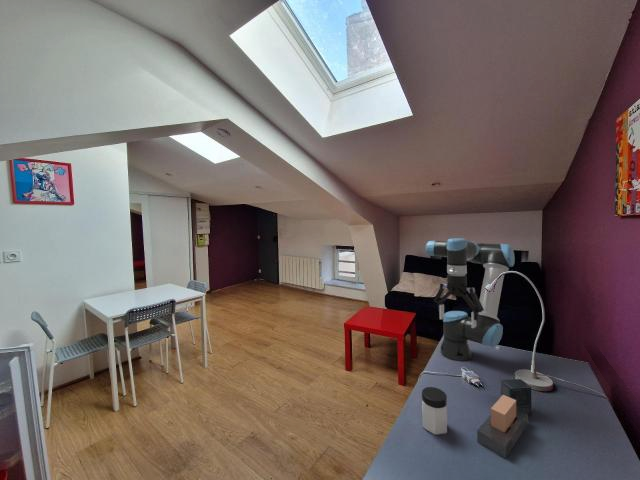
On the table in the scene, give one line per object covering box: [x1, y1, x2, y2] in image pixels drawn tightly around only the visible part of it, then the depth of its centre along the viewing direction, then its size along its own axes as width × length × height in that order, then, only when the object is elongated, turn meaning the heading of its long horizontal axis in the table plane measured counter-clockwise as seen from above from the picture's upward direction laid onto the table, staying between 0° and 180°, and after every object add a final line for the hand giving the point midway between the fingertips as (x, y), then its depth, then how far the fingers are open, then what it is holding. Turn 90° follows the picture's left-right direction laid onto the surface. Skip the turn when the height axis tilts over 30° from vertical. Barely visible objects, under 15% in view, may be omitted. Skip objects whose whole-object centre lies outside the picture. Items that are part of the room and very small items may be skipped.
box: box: [500, 378, 533, 415], centre depth 101 cm, size 8×6×11 cm
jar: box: [421, 386, 448, 436], centre depth 95 cm, size 9×8×12 cm
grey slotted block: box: [476, 408, 529, 459], centre depth 91 cm, size 22×8×4 cm, turn 128°
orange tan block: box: [490, 395, 516, 434], centre depth 91 cm, size 11×4×10 cm, turn 128°
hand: (457, 322), depth 115 cm, fingers open, 13 cm apart
